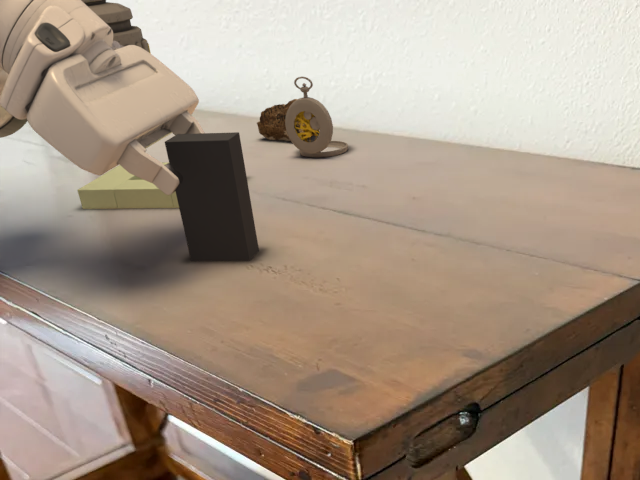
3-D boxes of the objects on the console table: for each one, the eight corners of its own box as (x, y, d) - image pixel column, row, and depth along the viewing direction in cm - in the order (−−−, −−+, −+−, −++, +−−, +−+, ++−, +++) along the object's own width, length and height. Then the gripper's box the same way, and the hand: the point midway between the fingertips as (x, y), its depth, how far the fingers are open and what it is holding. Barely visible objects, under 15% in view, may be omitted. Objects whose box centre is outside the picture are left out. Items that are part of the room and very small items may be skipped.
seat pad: (83, 212, 96) (76, 189, 94) (127, 183, 105) (121, 163, 103) (211, 210, 93) (206, 187, 92) (244, 181, 102) (241, 160, 101)
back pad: (191, 264, 79) (164, 141, 72) (202, 254, 81) (177, 133, 74) (250, 264, 78) (228, 140, 71) (259, 254, 80) (239, 132, 73)
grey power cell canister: (58, 112, 150) (-1, -94, 131) (162, 100, 152) (118, -103, 134) (48, 132, 135) (-21, -97, 117) (163, 119, 138) (113, -106, 119)
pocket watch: (344, 146, 114) (336, 65, 108) (354, 160, 108) (346, 74, 102) (286, 153, 113) (275, 71, 107) (293, 167, 107) (281, 81, 101)
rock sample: (339, 102, 119) (297, 65, 113) (339, 148, 118) (296, 113, 111) (289, 133, 126) (246, 100, 119) (288, 176, 124) (245, 145, 117)
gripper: (103, 67, 80) (217, 169, 85) (-13, 110, 65) (135, 233, 69) (133, 10, 77) (250, 120, 81) (18, 42, 61) (171, 176, 65)
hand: (196, 173), depth 75 cm, fingers open, 8 cm apart
